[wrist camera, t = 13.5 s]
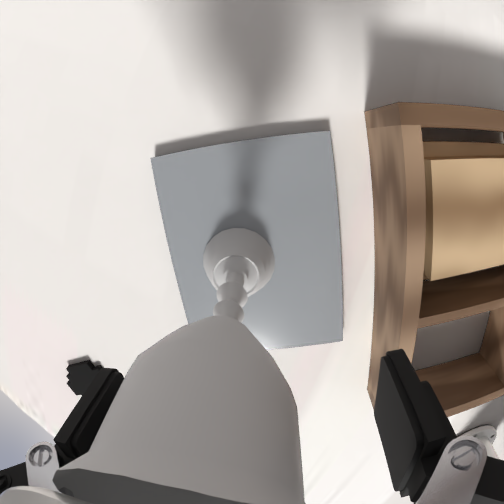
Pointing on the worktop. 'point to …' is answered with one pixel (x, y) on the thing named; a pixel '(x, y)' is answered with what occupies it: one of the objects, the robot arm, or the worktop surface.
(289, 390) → the chalice
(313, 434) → the worktop surface
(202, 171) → the slate mat
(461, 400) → the walnut crate
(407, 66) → the worktop surface
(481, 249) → the oak offcut top
